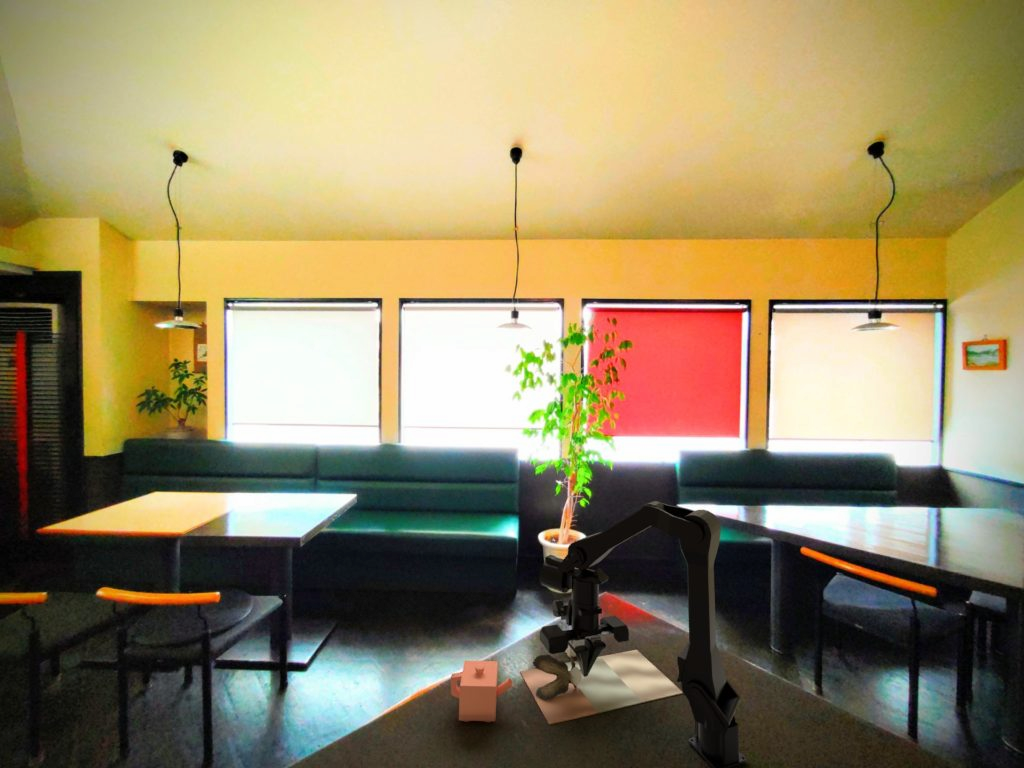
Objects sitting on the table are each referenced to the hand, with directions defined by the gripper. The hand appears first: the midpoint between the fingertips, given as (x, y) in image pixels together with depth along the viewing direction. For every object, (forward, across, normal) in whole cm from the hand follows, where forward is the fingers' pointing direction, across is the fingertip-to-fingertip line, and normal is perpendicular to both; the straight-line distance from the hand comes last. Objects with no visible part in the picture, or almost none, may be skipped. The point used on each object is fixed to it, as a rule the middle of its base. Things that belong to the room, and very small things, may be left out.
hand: (584, 675), depth 87 cm
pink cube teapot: (+2, +23, +1) cm, 23 cm away
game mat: (+2, -3, 0) cm, 4 cm away
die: (+2, -3, -12) cm, 13 cm away
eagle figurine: (+2, +6, 0) cm, 7 cm away
